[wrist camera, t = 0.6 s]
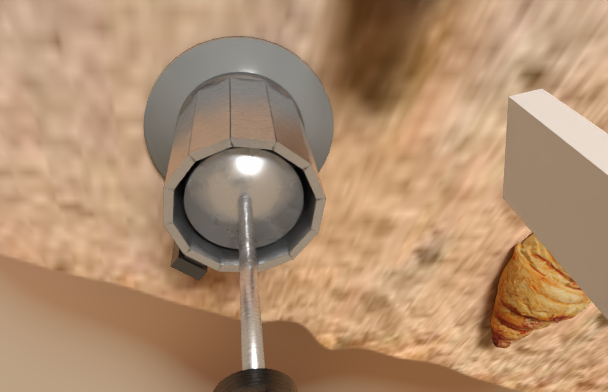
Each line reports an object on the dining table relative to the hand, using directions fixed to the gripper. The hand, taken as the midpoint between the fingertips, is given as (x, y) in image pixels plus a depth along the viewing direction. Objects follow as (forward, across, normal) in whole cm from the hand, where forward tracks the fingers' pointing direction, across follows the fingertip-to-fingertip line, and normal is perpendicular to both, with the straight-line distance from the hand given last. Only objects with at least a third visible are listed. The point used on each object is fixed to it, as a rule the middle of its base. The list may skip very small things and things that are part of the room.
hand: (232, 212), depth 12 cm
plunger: (+20, -2, -12) cm, 23 cm away
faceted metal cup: (+30, -2, -13) cm, 32 cm away
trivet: (+31, -2, -13) cm, 33 cm away
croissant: (+30, +27, -37) cm, 55 cm away
